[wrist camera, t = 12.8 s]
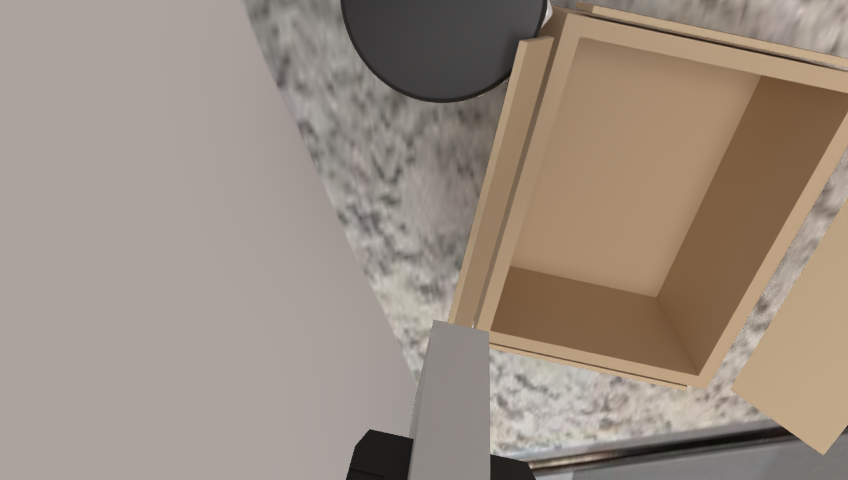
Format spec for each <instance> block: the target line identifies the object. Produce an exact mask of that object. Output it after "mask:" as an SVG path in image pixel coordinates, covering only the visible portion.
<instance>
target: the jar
mask: <svg viewBox="0 0 848 480" xmlns="http://www.w3.org/2000/svg"><path fill="white" fill-rule="evenodd" d="M340 1H341V9H342V14H343V19H344V23H345V26H346V29H347V32H348V35H349V37H350V40H351V42H352V44H353V46H354V48H355V50H356V51H357V53H358V54H359V56H360V58H361V59H362V60H363V62H364V63H365V64H366V66H367V67H368V68H369V69H370V70H371V71H372V72H373V73H374V74H375V75H376V76H377V77H378V78H379V79H380V80H381V81H383V82H384V83H385V84H386V85H388V86H389V87H391V88H392V89H394V90H396V91H398V92H400V93H402V94H404V95H406V96H409V97H411V98H414V99H418V100H421V101H426V102H433V103H452V102H459V101H464V100H468V99H471V98H474V97H482V96H484V95H485V94H486V93H487V92H488V91H490V90H492V89H493V88H495V87H496V86H498V85H499V84H501V83H502V82H503V81H505V80H506V79H507V78H508V77H509V76H510V75H511V73H512V69H513V65H514V61H515V57H516V53H517V49H518V45H519V41H520V40H526V39H532V38H536V39H537V38H538V35H540V32H541V28H542V27H543V26H544V25H545V24H546V22H547V21H548V20H549V19H550V18H551V16H552V7H551V3H550V0H340Z"/></svg>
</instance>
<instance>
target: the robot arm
mask: <svg viewBox="0 0 848 480" xmlns="http://www.w3.org/2000/svg"><path fill="white" fill-rule="evenodd" d="M346 480H536V479H535V477H534V475H533V473H532V471H531V469H530V467H529V465H528V463H527V462H523V461H519V460H514V459H510V458H505V457H500V456H496V455H491V454H490V380H489V332H488V331H483V330H479V329H474V328H470V327H465V326H460V325H456V324H451V323H447V322H442V321H437V320H434V322H433V326H432V330H431V334H430V338H429V342H428V346H427V351H426V355H425V359H424V363H423V367H422V371H421V375H420V380H419V384H418V388H417V392H416V397H415V403H414V409H413V415H412V421H411V427H410V433H409V438H407V437H403V436H398V435H393V434H389V433H384V432H380V431H375V430H371V429H370V430H369V431H368V432H367V433H366V434H365V435H364V436H363V438H362V439H361V440H360V441H359V442H358V443H357V445H356V446H355V449H354V452H353V456H352V460H351V463H350V467H349V471H348V474H347V478H346Z"/></svg>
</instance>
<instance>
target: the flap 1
mask: <svg viewBox="0 0 848 480" xmlns="http://www.w3.org/2000/svg"><path fill="white" fill-rule="evenodd" d="M553 40H554V37H550V36H544V37H538V38H537V39H536V38H532V39H526V40H520V41H519V45H518V49H517V53H516V57H515V61H514V65H513V69H512V73H511V76H510V80H509V84H508V88H507V92H506V96H505V100H504V104H503V108H502V112H501V115H500V119H499V123H498V127H497V131H496V135H495V139H494V143H493V147H492V150H491V154H490V158H489V162H488V166H487V170H486V174H485V178H484V182H483V186H482V189H481V193H480V197H479V201H478V205H477V209H476V213H475V217H474V221H473V225H472V228H471V232H470V236H469V240H468V244H467V248H466V252H465V256H464V260H463V264H462V267H461V271H460V275H459V279H458V283H457V287H456V291H455V295H454V299H453V303H452V306H451V310H450V314H449V318H448V322H447V323H451V324H456V325H460V326H465V327H470V328H472V324H473V321H474V317H475V314H476V310H477V307H478V303H479V300H480V296H481V293H482V289H483V286H484V282H485V279H486V275H487V272H488V268H489V265H490V261H491V258H492V254H493V251H494V247H495V244H496V240H497V237H498V233H499V230H500V226H501V223H502V219H503V216H504V212H505V209H506V205H507V202H508V198H509V195H510V191H511V187H512V184H513V180H514V177H515V173H516V170H517V166H518V163H519V159H520V156H521V152H522V149H523V145H524V142H525V138H526V135H527V131H528V128H529V124H530V121H531V117H532V114H533V110H534V107H535V103H536V100H537V96H538V93H539V89H540V86H541V82H542V79H543V75H544V72H545V68H546V65H547V61H548V58H549V54H550V50H551V47H552V43H553Z"/></svg>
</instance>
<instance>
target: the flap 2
mask: <svg viewBox="0 0 848 480" xmlns="http://www.w3.org/2000/svg"><path fill="white" fill-rule="evenodd" d="M730 390H732V391H733V392H735V393H736V394H737V395H739V396H740V397H742V398H743V399H744V400H746V401H747V402H749V403H750V404H752V405H753V406H754V407H756V408H757V409H759V410H760V411H761V412H763V413H764V414H766V415H767V416H769V417H770V418H771V419H773V420H774V421H776V422H777V423H778V424H780V425H781V426H783V427H784V428H786V429H787V430H788V431H790V432H791V433H793V434H794V435H795V436H797V437H798V438H800V439H801V440H803V441H804V442H805V443H807V444H808V445H810V446H811V447H812V448H814V449H815V450H817V451H818V452H820V453H821V454H822V455H824V454H825V453H826V452H827V450H828V449H829V448H830V447H831V445H832V444H833V443H834V442H835V440H836V439H837V438H838V436H839V435H840V434H841V433H842V431H843V430H844V429H845V428H846V426H847V425H848V197H847V199H846V201H845V202H844V204H843V206H842V207H841V209H840V211H839V212H838V214H837V215H836V217H835V219H834V220H833V222H832V224H831V225H830V227H829V229H828V230H827V232H826V233H825V235H824V237H823V238H822V240H821V242H820V243H819V245H818V247H817V248H816V250H815V251H814V253H813V255H812V256H811V258H810V260H809V261H808V263H807V264H806V266H805V268H804V269H803V271H802V273H801V274H800V276H799V278H798V279H797V281H796V282H795V284H794V286H793V287H792V289H791V291H790V292H789V294H788V296H787V297H786V299H785V300H784V302H783V304H782V305H781V307H780V309H779V310H778V312H777V314H776V315H775V317H774V318H773V320H772V322H771V323H770V325H769V327H768V328H767V330H766V332H765V333H764V335H763V336H762V338H761V340H760V341H759V343H758V345H757V346H756V348H755V350H754V351H753V353H752V354H751V356H750V358H749V359H748V361H747V363H746V364H745V366H744V368H743V369H742V371H741V372H740V374H739V376H738V377H737V379H736V381H735V382H734V384H733V386H732V387H731V389H730Z"/></svg>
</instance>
